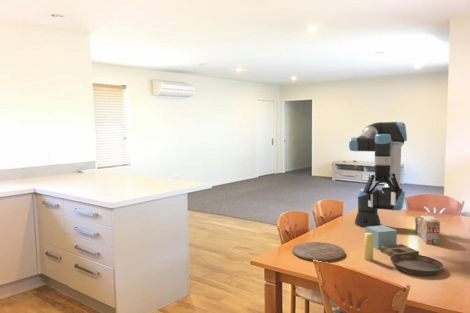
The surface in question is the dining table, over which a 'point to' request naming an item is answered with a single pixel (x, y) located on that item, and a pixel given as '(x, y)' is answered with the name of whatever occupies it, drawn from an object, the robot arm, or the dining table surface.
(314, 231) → the dining table surface
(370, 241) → the peg
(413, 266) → the plant saucer
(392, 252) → the socket board
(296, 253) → the trivet
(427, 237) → the printed food box
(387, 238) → the block
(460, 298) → the dining table surface
